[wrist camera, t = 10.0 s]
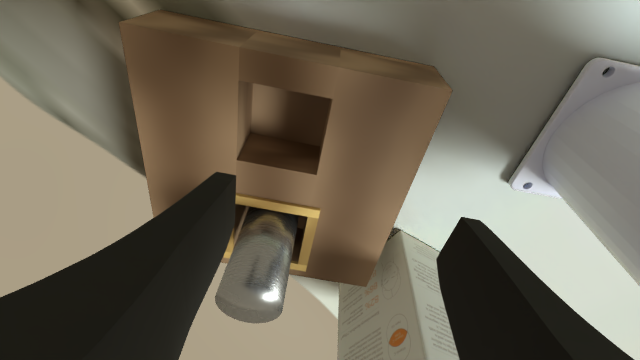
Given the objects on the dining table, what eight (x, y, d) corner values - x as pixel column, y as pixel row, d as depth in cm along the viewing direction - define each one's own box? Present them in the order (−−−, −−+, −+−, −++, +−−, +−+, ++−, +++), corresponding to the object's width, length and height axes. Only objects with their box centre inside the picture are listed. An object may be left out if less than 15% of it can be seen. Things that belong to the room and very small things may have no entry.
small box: (388, 305, 29) (405, 455, 20) (337, 281, 27) (332, 432, 19) (456, 258, 24) (514, 422, 16) (400, 226, 23) (432, 388, 14)
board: (434, 66, 16) (453, 92, 13) (364, 248, 24) (366, 289, 21) (160, 9, 16) (115, 23, 13) (182, 216, 24) (158, 254, 21)
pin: (306, 184, 21) (287, 291, 14) (297, 219, 23) (277, 327, 16) (257, 173, 20) (216, 277, 14) (252, 210, 22) (214, 316, 16)
